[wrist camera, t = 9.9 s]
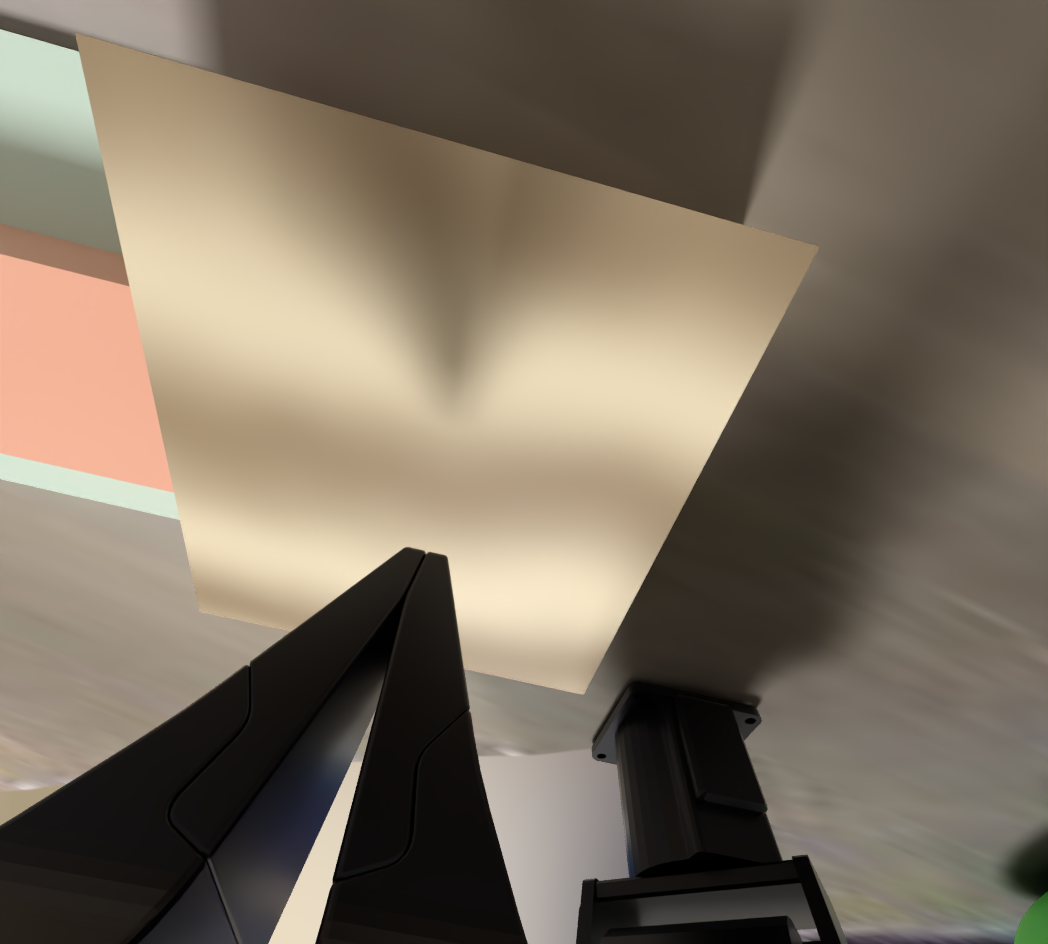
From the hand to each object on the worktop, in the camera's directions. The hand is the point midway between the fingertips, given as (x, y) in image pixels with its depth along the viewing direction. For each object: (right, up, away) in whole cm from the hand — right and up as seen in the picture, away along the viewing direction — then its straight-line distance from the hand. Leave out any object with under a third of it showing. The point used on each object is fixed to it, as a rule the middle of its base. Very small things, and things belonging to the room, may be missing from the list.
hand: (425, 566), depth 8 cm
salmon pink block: (-12, +5, +4) cm, 13 cm away
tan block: (0, +4, +6) cm, 7 cm away
